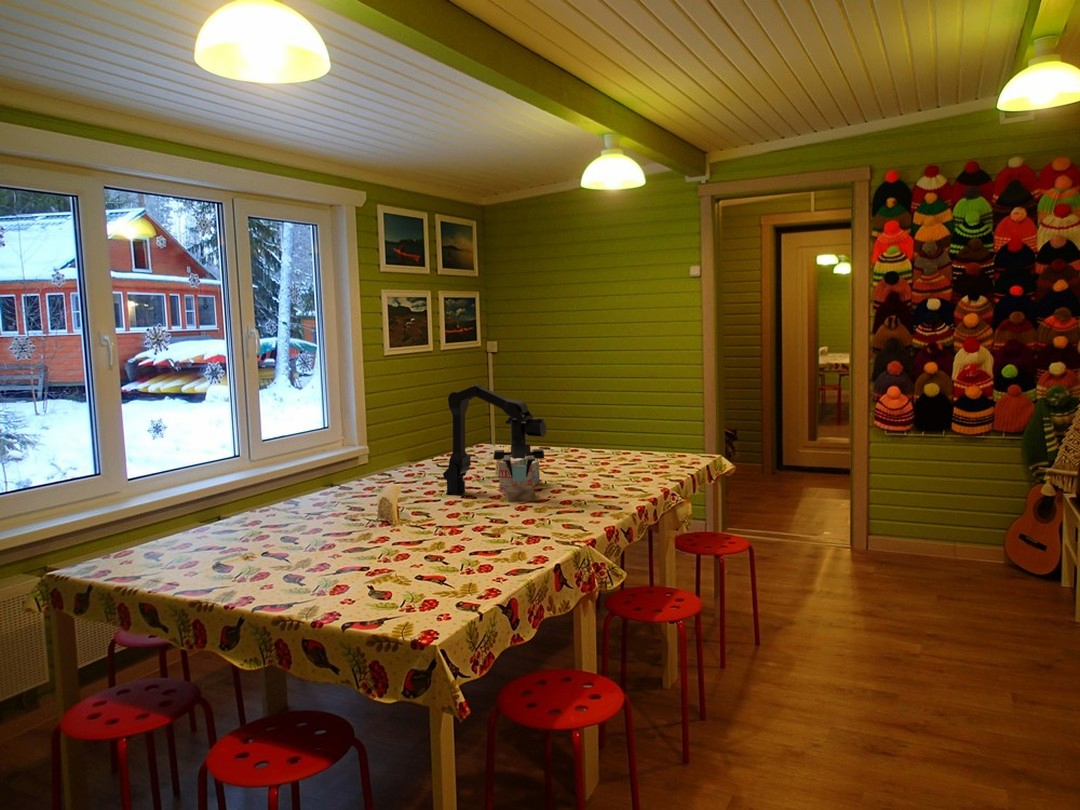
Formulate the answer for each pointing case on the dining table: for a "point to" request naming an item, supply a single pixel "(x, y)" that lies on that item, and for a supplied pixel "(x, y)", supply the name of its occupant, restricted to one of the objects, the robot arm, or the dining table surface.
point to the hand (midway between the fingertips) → (519, 477)
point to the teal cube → (519, 473)
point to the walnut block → (520, 493)
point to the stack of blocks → (507, 480)
